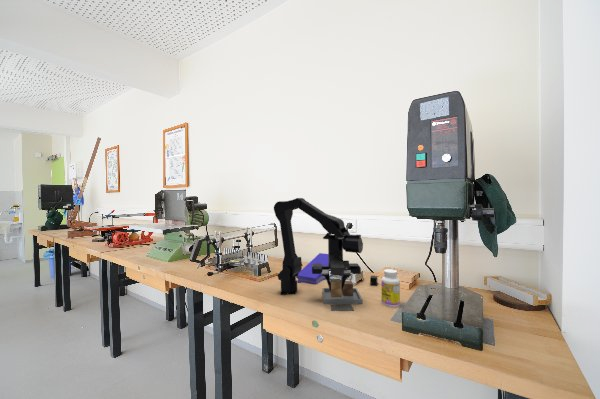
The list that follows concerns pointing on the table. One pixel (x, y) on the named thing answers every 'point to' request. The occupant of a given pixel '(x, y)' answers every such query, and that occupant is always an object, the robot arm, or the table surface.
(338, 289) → the labelled block
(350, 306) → the rubber mat
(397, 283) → the supplement bottle
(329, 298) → the parts tray
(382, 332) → the table surface
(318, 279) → the purple flat box
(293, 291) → the robot arm
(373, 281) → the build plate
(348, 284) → the walnut block
